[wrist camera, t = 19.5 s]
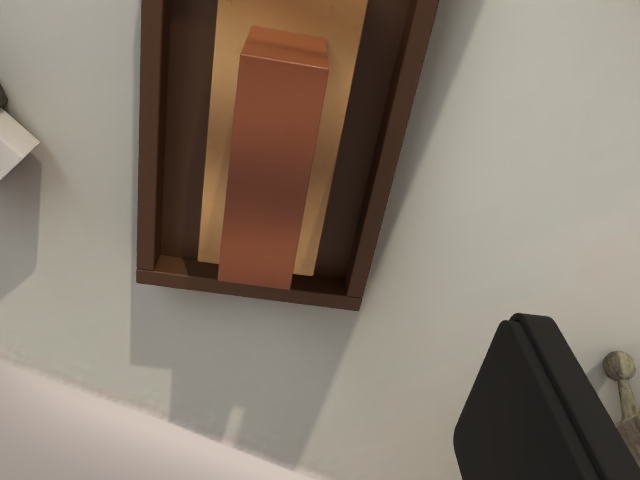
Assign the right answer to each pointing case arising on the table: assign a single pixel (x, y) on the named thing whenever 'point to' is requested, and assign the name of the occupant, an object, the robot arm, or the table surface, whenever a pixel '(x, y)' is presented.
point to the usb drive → (12, 140)
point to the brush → (274, 133)
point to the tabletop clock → (625, 399)
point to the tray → (191, 139)
